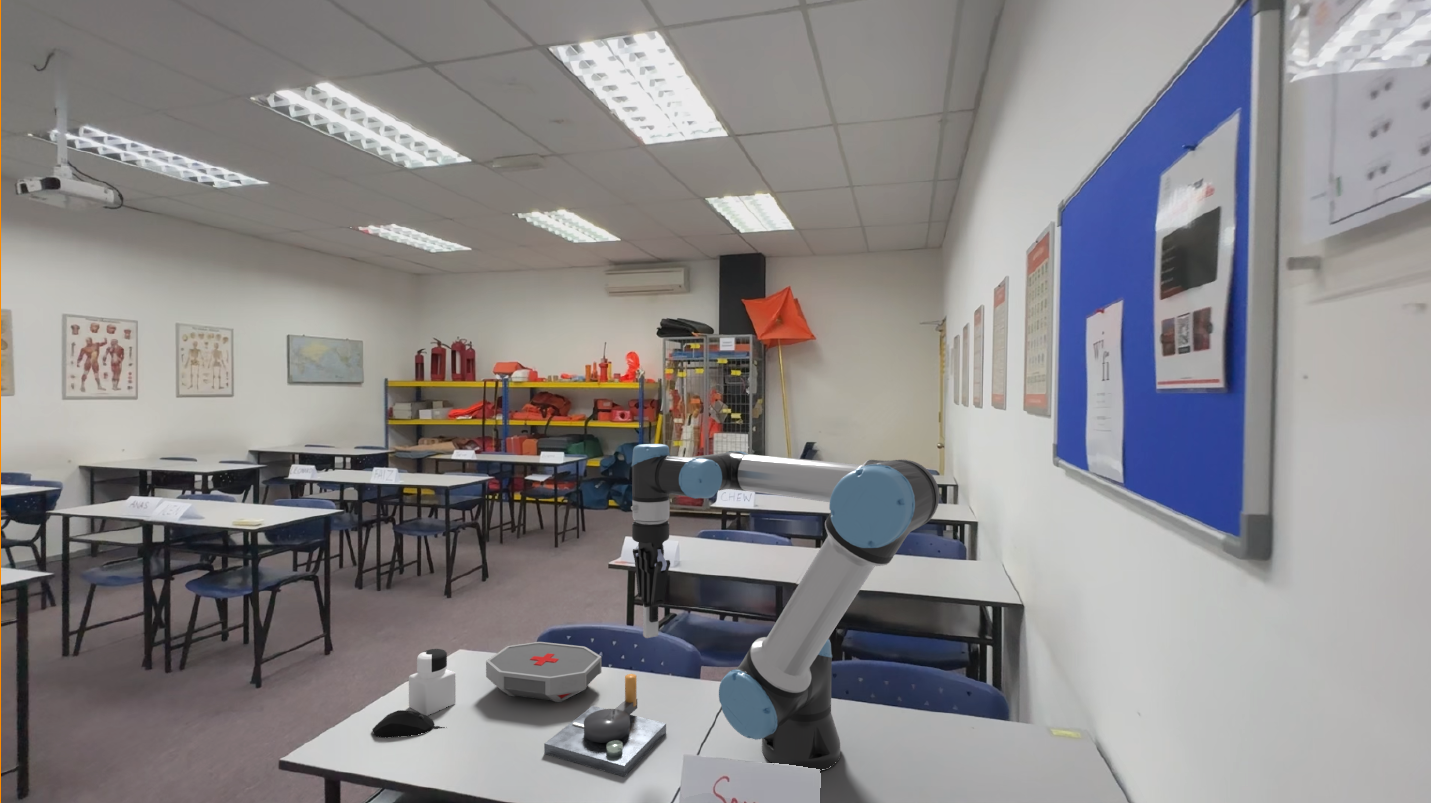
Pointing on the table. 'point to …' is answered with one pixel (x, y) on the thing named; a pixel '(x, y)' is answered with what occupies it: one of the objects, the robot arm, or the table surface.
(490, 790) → the table surface
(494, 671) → the first aid kit
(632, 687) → the domed crank handle
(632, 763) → the base
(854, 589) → the robot arm
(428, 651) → the medicine bottle
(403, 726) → the gaming mouse
